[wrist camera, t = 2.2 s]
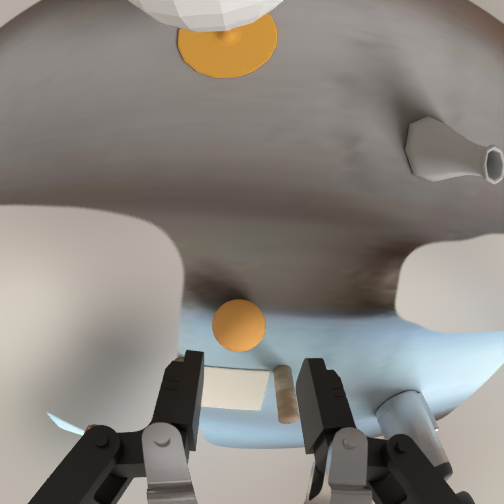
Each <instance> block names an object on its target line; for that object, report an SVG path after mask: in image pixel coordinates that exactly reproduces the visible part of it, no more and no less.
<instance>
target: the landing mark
mask: <svg viewBox="0 0 504 504" xmlns="http://www.w3.org/2000/svg"><path fill="white" fill-rule="evenodd" d="M269 375H270V371H262V370H244V369H230V368H219V367H209V366H204V385H203V393H202V401H201V406H205V407H215V408H227V409H242V410H261V406H262V402H263V398H264V394H265V391H266V387H267V383H268V379H269Z"/></svg>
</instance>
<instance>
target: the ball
mask: <svg viewBox="0 0 504 504" xmlns="http://www.w3.org/2000/svg"><path fill="white" fill-rule="evenodd" d="M265 328H266V323H265V318H264V316H263V313H262V312H261V310H260V309H259V308H258V307H257V306H256V305H255V304H253V303H252V302H250V301H247V300H242V299H235V300H231V301H228V302H226V303H224V304H223V305H222V306H220V307H219V309H218V310H217V311H216V313H215V315H214V318H213V322H212V329H213V333H214V336H215V338H216V339H217V341H218V342H219V343H220V344H221V345H222V346H223V347H225V348H226V349H229V350H231V351H236V352H243V351H247V350H250V349H252V348H254V347H255V346H256V345H257V344H258V343H259V342H260V341H261V340H262V338H263V336H264V333H265Z"/></svg>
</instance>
